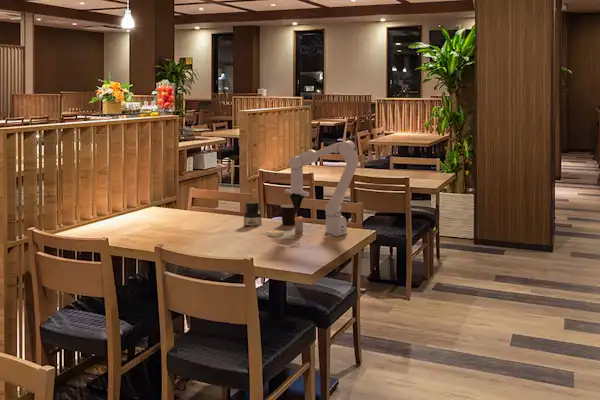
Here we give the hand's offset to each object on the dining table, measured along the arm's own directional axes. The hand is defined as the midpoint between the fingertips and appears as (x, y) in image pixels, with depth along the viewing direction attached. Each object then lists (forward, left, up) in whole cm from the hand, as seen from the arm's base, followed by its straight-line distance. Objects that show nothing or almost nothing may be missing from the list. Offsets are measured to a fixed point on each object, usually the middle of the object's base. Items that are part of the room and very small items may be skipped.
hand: (297, 209), depth 304 cm
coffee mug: (+12, -8, -11) cm, 18 cm away
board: (-3, +10, -10) cm, 15 cm away
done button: (-1, +15, -10) cm, 18 cm away
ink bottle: (+25, +6, -11) cm, 28 cm away
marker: (-8, +7, -10) cm, 14 cm away
